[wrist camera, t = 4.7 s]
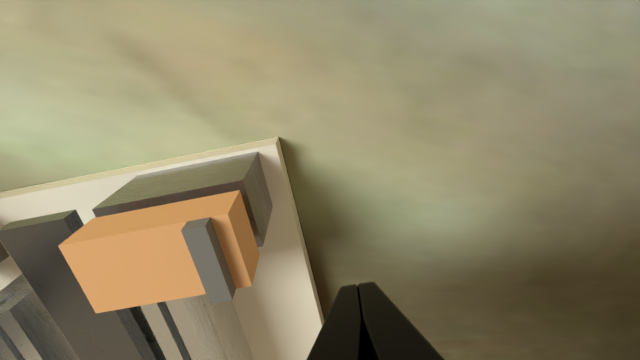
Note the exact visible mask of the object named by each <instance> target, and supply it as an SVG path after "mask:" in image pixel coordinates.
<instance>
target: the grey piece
mask: <svg viewBox="0 0 640 360" xmlns="http://www.w3.org/2000/svg"><path fill="white" fill-rule="evenodd" d="M237 190H240V193H241V196H242V199H243V202H244V206H245V209H246V212H247V215H248V218H249V222H250V225H251V228H252V231H253V234H254V238H255V241H256V244H257V247H261V246H263V244H264V240H265V236H266V232H267V228H268V224H269V220H270V216H271V212H272V208H273V205H272V202H271V198H270V194H269V191H268V187H267V184H266V180H265V176H264V173H263V169H262V166H261V162H260V158H259V155H258V152H252V153H247V154H242V155H237V156H232V157H227V158H222V159H217V160H212V161H207V162H202V163H197V164H192V165H187V166H182V167H177V168H172V169H167V170H162V171H157V172H152V173H147V174H141V175H137V176H136V177H134V178H133V179H132V180H130V181H129V182H128V183H126V184H125V185H124V186H122V187H121V188H120V189H118V190H117V191H116V192H114V193H113V194H112V195H110V196H109V197H108V198H106V199H105V200H104V201H102V202H101V203H100V204H98V205H97V206H96V207H94V208H93V209H92V211H93V213H94V215H95V217H96V218H97V217H102V216H107V215H113V214H118V213H123V212H128V211H133V210H138V209H144V208H149V207H154V206H159V205H164V204H170V203H175V202H180V201H185V200H190V199H196V198H201V197H206V196H211V195H216V194H222V193H227V192H232V191H237ZM8 257H9V254H8V253H7V251H6V250H5V248H4V246H3V245H2V243H1V242H0V262H2V261H3V260H5V259H6V258H8ZM129 309H130V311H131V313H132V314H133V316H134V318H135V320H136V322H137V324H138V326H139V327H140V329H141V331H142V333H143V335H144V337H145V339H146V340H147V342H148V344H149V346H150V348H151V350H152V351H153V353H154V355H155V357H156V359H157V360H253V355H252V353H251V350H250V347H249V345H248V342H247V339H246V336H245V334H244V331H243V328H242V325H241V323H240V320H239V317H238V315H237V312H236V309H235V306H234V304H233V301H232V300H230V301H225V302H219V303H213V304H210V302H209V300H208V297H207V295H206V294H204V295H198V296H192V297H187V298H181V299H175V300H170V301H164V302H158V303H153V304H147V305H141V306H136V307H130V308H129ZM0 360H80V359H79V357H78V356H77V354H76V353H75V351H74V350H73V348H72V347H71V345H70V344H69V342H68V341H67V339H66V338H65V336H64V335H63V333H62V332H61V330H60V329H59V327H58V326H57V324H56V323H55V321H54V320H53V318H52V317H51V315H50V314H49V312H48V311H47V309H46V308H45V306H44V305H43V303H42V302H41V300H40V299H39V297H38V296H37V294H36V293H35V291H34V290H33V288H32V287H31V285H30V284H29V282H28V281H27V279H26V278H25V276H24V275H23V273H22V274H21V275H20V276H19V277H17V278H16V279H15V280H13V281H12V282H11V283H10V284H8V285H7V286H6V287H5V288H3V289H2V290H1V291H0Z"/></svg>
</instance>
